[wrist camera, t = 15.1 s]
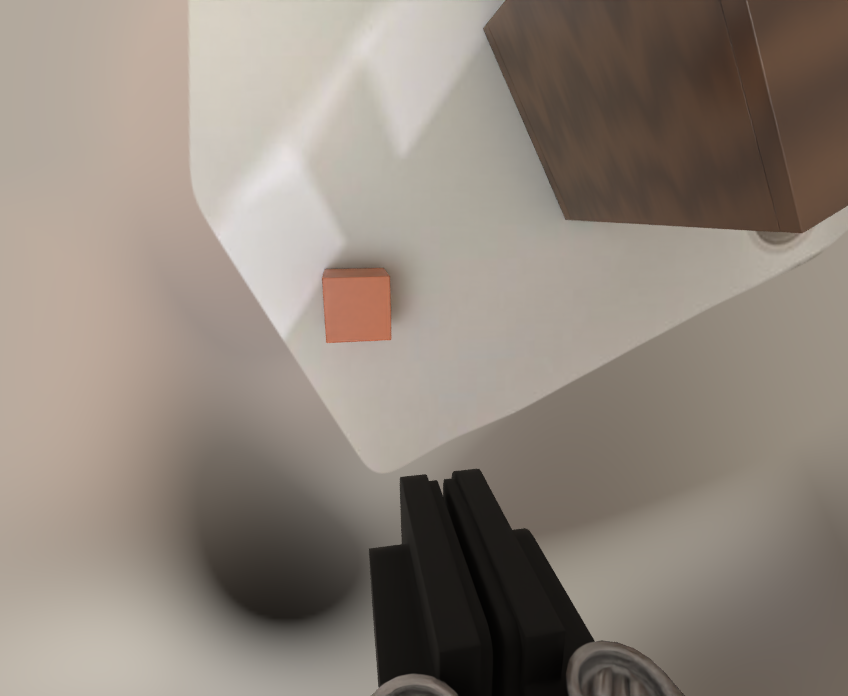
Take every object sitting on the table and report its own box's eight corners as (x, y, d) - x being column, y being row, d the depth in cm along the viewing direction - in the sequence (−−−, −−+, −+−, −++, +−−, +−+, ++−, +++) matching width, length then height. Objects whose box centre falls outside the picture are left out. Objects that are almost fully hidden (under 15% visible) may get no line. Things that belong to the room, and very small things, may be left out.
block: (327, 327, 44) (326, 343, 39) (324, 269, 42) (322, 277, 37) (385, 324, 45) (391, 340, 40) (384, 267, 43) (390, 276, 38)
